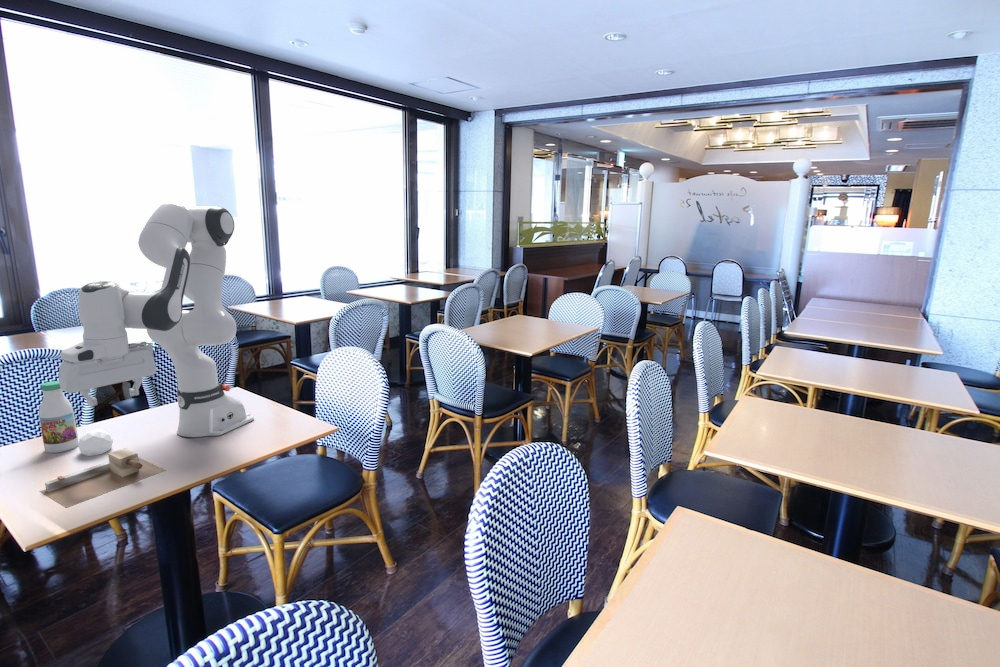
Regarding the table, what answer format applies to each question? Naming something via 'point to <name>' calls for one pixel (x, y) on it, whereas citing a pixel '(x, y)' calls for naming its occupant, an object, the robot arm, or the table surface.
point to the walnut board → (94, 483)
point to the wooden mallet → (124, 462)
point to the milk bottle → (57, 420)
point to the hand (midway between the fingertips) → (114, 400)
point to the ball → (95, 442)
